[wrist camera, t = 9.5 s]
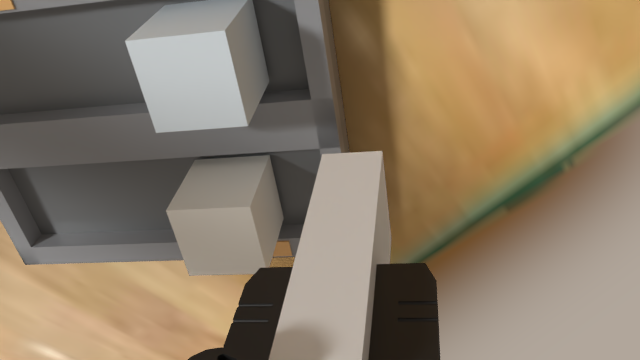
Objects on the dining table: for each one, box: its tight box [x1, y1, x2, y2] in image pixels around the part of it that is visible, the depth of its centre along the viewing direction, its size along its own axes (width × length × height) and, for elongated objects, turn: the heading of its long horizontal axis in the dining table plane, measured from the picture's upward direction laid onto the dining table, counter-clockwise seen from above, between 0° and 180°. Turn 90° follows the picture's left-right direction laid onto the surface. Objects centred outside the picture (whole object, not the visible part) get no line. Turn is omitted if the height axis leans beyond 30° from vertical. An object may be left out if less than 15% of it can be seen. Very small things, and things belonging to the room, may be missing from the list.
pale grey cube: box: [125, 0, 269, 133], centre depth 25 cm, size 4×4×4 cm
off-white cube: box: [166, 155, 284, 276], centre depth 29 cm, size 4×4×4 cm
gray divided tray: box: [0, 0, 350, 265], centre depth 30 cm, size 20×16×3 cm
